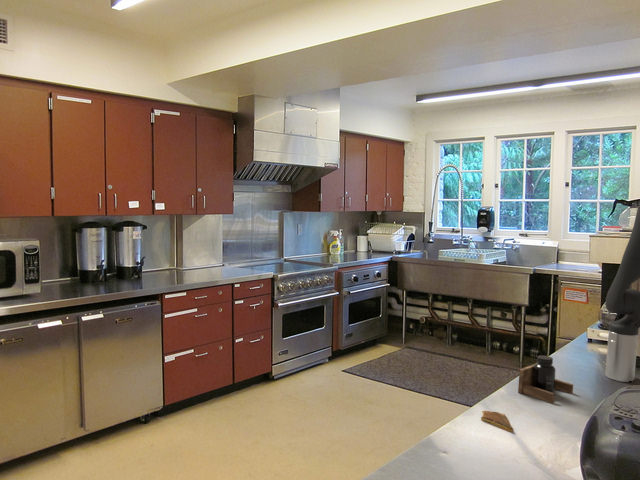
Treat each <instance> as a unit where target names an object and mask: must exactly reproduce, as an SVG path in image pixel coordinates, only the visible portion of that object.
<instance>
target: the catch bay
mask: <svg viewBox="0 0 640 480" xmlns="http://www.w3.org/2000/svg"><path fill="white" fill-rule="evenodd" d="M535 364H537V362H536V363H533V364H530V365H528V366H526V367H522V368H520V369H519V372H518V373H519V374H518V388H517V389H518V390H517V393H518V394H523V395H526V396H529V397H532V398H535V399H538V400H542V401H543V402H547V403H549V404H550V403H551V404H553V403H555V392H554V393H552V392H549V391H546V390H542V389H539V388H536V387H533V368H534V365H535ZM555 390H556V391H560V392H563V393H567V394H570V395H571V394H573V392H574V384H573V383H570V382H567V381H563V380H560V379H556V378H555Z"/></svg>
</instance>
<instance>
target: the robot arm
mask: <svg viewBox="0 0 640 480" xmlns="http://www.w3.org/2000/svg"><path fill="white" fill-rule="evenodd" d="M630 233H631V234H630V236H629V239H628V242H627V244H626V247H625V249H624V252H623V254H622V258H621V261H620V265H619V266H618V270H617V273H616V275H615V277H614V279H613V281H612V283H611V285H610V287H609V289H608V292H607V293H606V297H605V308H606V310H607V311H608V312H609V313H612V314H617V315H618V314H619V315H625V316H623V317H622V318H620V319H617V320H614V321H612V322H610V323H609V324H608V325H609V326H608V336H607V348H606V350H607V351H606V361H605V362H606V363H605V373H604V376H605V378H608V379H611V380H614V381H616V382H621V383H622V382H623V383H630V382H629V381H632V382H634V381H635V373H636V361H637V353H638V352H637V350H638V338H639V329H640V291H639V290H638V289H633V288H629V287H630V286H631V285H633V283H636V282H637V281H638V280H639V279H640V200H639V201H638V206H637V209H636V214H635V218H634V223H633V228H632V230H631V232H630ZM633 380H634V381H633Z"/></svg>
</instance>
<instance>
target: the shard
mask: <svg viewBox="0 0 640 480" xmlns="http://www.w3.org/2000/svg"><path fill="white" fill-rule="evenodd" d="M481 413H482V417H481V418H480V420H481V421H482V420H483V421H482V422H485V421H486V423H488V422H489V424H491V425H493V424H494V425H493V426H495V427H497V426H498V428H500V429H502V430H505V431H508V432H511V433H513V432H514V431H515V430H514V428H513V426H512V425H511V423H510V420H509V419H508V417H507V416H506V414H505V413H501V412H498V411H491V410H482V411H481Z"/></svg>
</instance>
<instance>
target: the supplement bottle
mask: <svg viewBox="0 0 640 480" xmlns="http://www.w3.org/2000/svg"><path fill="white" fill-rule="evenodd" d="M553 362H554V360H553V357H551V356H549V355H537V357H536V363H537V364H536V363H534V364H535V365H534V368H533V387H536V388H539V389H542V390H546V391H549V392H552V393H554V394H555V390H556V389H555V379H556V368H555V366H554V365H553V364H554V363H553Z"/></svg>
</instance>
